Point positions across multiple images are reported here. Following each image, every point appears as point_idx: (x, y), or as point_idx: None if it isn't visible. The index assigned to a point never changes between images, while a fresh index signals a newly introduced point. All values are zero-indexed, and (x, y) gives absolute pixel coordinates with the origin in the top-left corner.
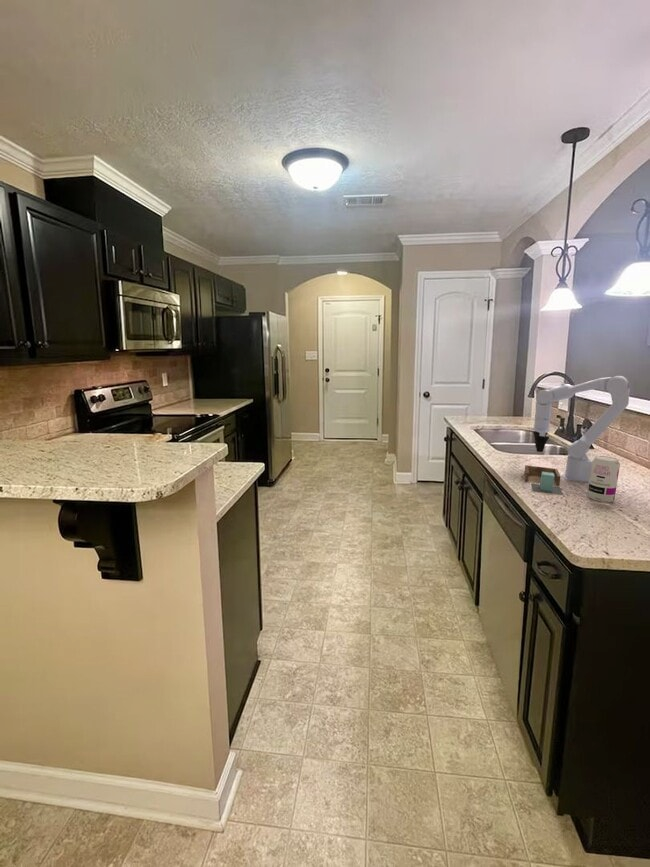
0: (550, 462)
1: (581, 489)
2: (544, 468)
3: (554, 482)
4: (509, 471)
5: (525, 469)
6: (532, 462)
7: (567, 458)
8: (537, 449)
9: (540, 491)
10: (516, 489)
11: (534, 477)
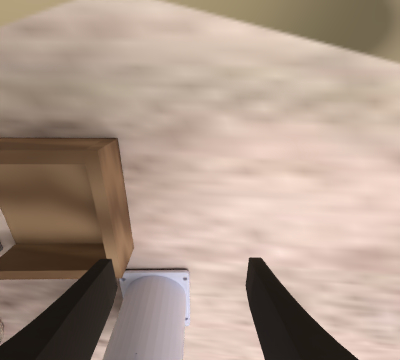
0: (375, 247)
1: (40, 296)
2: (103, 234)
3: (49, 240)
4: (134, 63)
5: (30, 148)
6: (364, 183)
7: (132, 354)
8: (87, 275)
9: None
10: None
11: (72, 179)
